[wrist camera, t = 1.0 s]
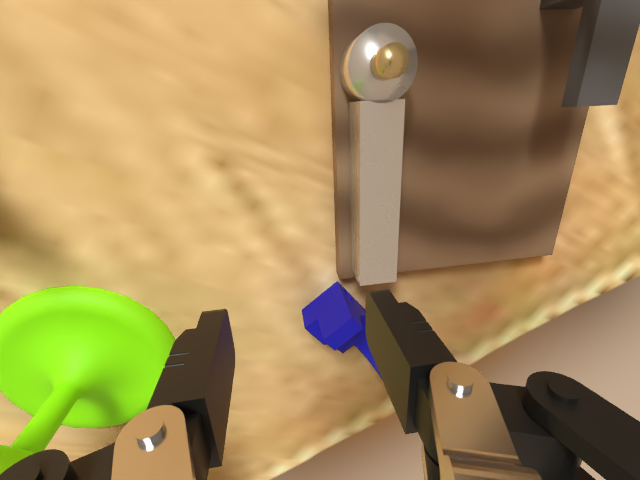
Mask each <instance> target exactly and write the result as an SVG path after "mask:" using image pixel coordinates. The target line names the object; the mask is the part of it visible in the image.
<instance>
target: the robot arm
mask: <svg viewBox="0 0 640 480" xmlns="http://www.w3.org/2000/svg"><path fill="white" fill-rule="evenodd" d="M366 338H367V343H368V346H369V349H370V352H371V354H372V356H373V359H374V361H375V363H376V366H377V368H378V370H379V373H380V375H381V378H382V380H383V382H384V385H385V387H386V389H387V392H388V394H389V396H390V399H391V401H392V403H393V406H394V408H395V411H396V413H397V415H398V417H399V420H400V422H401V425H402V427H403V429H404V432H405V434H409V433H415V432H418V433H419V435H420V438H421V440H422V442H423V445H422V461H423V470H424V479H425V480H595V479H594V478H593V477H592V476H591V475H589V474H588V473H587V472H586V471H585V470H584V469H582V468H581V467H580V465H581V462H582V460H583V461H584V462H585V463H587V464H588V465H589V466H590V467H591V468H593V469H594V470H595V471H596V472H597V473H599V474H600V475H601V476H602V477H603V478H604V479H606V480H640V422H639V421H638V420H636V419H634V418H633V417H631V416H630V415H628V414H627V413H625V412H624V411H622V410H621V409H619V408H618V407H616V406H615V405H613V404H612V403H610V402H608V401H607V400H605V399H604V398H602V397H600V396H599V395H598V394H596V393H595V392H593V391H591V390H590V389H588V388H587V387H585V386H584V385H582V384H581V383H579V382H577V381H576V380H574V379H572V378H570V377H567V376H565V375H562V374H558V373H554V372H547V371H543V372H536V373H533V374H531V375H530V376H529V377H528V379H527V383H526V386H525V387H521V386H512V385H504V384H496V383H491V382H488V380H487V379H486V377H485V376H484V375H483V374H481V373H480V372H479V371H478V370H476V369H474V368H472V367H471V366H468V365H466V364H463V363H459V362H457V361H456V359H455V358H454V357H453V355H452V354H451V353H450V351H449V350H448V349H447V347H446V346H445V345H444V343H443V342H442V341H441V340H440V338H439V337H438V336H437V334H436V333H435V332H434V331H433V330H432V328H431V326H430V325H429V324H428V322H426V320H425V318H424V317H423V316H422V314H421V313H420V312H419V310H418V309H416V308H414V307H413V306H411V305H410V304H408V303H407V302H403V303H398V302H397V301H396V299H395V298H394V296H393V295H392V293H391V292H390V290H380V291H372V292H367V293H366ZM234 369H235V349H234V343H233V338H232V332H231V327H230V322H229V316H228V312H227V310H226V309H221V310H213V311H205V312H202V313H201V316H200V319H199V322H198V325H197V328H195V329H187V330H185V331H184V332H183V333H182V334H181V335H180V336H179V337H178V338H177V339H176V340H175V341H174V343H173V346H172V348H171V351H170V353H169V357H168V358H167V361H166V363H165V368H163V370H162V373H161V375H160V378H159V380H158V382H157V385H156V387H155V390H154V392H153V395H152V397H151V399H150V402H149V404H148V407H147V409H146V410H145V411H143V412H142V413H140V414H138V415H137V416H135V417H134V418H133V419H132V420H130V421H129V422H128V423H127V424H126V425H125V426H124V428H123V429H122V430H121V432H120V433H119V435H118V437H117V439H116V442H115V443H113V444H111V445H109V446H107V447H105V448H102V449H100V450H98V451H95V452H93V453H91V454H88V455H86V456H84V457H81V458H79V459H76V460H74V461H72V462H70V460H69V459H68V457H67V455H66V454H65V453H64V452H62V451H60V450H44V451H41V452H37V453H35V454H32V455H30V456H28V457H26V458H24V459H22V460H20V461H18V462H17V463H15V464H13V465H12V466H11V467H9V468H8V469H6V470H5V471H4V472H3V473H1V474H0V480H207V476H208V471H209V468H214V467H219V466H222V459H223V452H224V444H225V437H226V429H227V422H228V414H229V407H230V399H231V392H232V384H233V377H234Z"/></svg>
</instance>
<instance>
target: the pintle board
mask: <svg viewBox="0 0 640 480" xmlns="http://www.w3.org/2000/svg"><path fill="white" fill-rule="evenodd" d="M328 10H329V42H330V74H331V106H332V139H333V171H334V203H335V235H336V267H337V274H338V276H339V278H340V279H346V278H355V275H354V273H353V271H352V270H351V207H350V123H349V102H356V101H354V100H353V99H352V98H350V97H349V96H348V95H347V93H346V92H345V90H344V89H343V87H342V84H341V81H340V77H339V65H340V60H341V57H342V54H343V52H344V50H345V49H346V47H347V46H348V45H349V44H350V43H351V42H352V41H353V40H354V39H355V38H356V37H358V36H359V35H360V34H361V33H362V32H364V31H365V30H366V29H367V28H369V27H371V26H373V25H375V24H379V23H392V24H395V25H398V26H400V27H401V28H403V29H404V30H405V31H406V32H407V33H408V34H409V35H410V37H411V38H412V40H413V42H414V44H415V47H416V50H417V57H418V65H417V71H416V75H415V78H414V80H413V82H412V84H411V86H410V87H409V89H408V90H407V91H406V92H405V93H404V94H403V95H402V96H401V97H399V98H398V99H405V114H404V135H403V156H402V176H401V197H400V218H399V238H398V259H397V273H398V272H407V271H415V270H424V269H433V268H441V267H450V266H459V265H467V264H476V263H485V262H494V261H502V260H511V259H520V258H528V257H537V256H546V255H552V253H553V249H554V245H555V241H556V237H557V233H558V229H559V225H560V221H561V217H562V213H563V209H564V205H565V201H566V197H567V193H568V189H569V185H570V181H571V177H572V172H573V168H574V164H575V160H576V156H577V152H578V148H579V144H580V140H581V136H582V132H583V128H584V124H585V120H586V116H587V112H588V108H589V106H600V105H617V103H618V99H619V96H620V92H621V89H622V85H623V81H624V78H625V74H626V71H627V67H628V63H629V60H630V56H631V53H632V49H633V46H634V42H635V38H636V35H637V31H638V28H639V24H640V0H328Z"/></svg>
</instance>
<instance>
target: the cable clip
mask: <svg viewBox="0 0 640 480" xmlns="http://www.w3.org/2000/svg"><path fill="white" fill-rule="evenodd" d="M302 314H303V320H304V326H305V329H306V330H307V331H309V332H310V333H311V334H312V335H313V336H314V337H315V338H317V339H318V340H319V341H320V342H321V343H322V344H323V345H325V344H328V345H329V346H330V347H331V348H332V349H334V350H336V349H338V350H339V351H340V352H342V353H344V352H345V351H346V350H348V349H349V348H350V347H351V346H353V345H355V346H356V347H357V348H358V349H359V350H360V351H361V352H362V353H363V354H364V355H365V357H366V358H367V359H368V360H369V362H370V363H371V364H372V365H373V367H374V368H375V370H376V371H377V372H378V374H379V375H380V373H379V370H378V368H377V366H376V363H375V361H374V359H373V356H372V354H371V352H370V349H369V346H368V343H367V338H366V310H365V309H364V308H363V307H362V306H361V305H360V304H359V303H358V302H357V301H356V300H355V299H354V298H353V297H352V296H351V295H350V294H349V293H348V292H347V291H346V290H345V288H344V287H343V286H342V285H341V284H340V283H339V282H338V281H337V282H336V283H334V284H333V285H332V286H331V287H330V288H328V289H327V290H326V291H325V292H323V293H322V294H321V295H320V296H318V297H317V298H316V299H315V300H314V301H312V302H311V303H310V304H309V305H307V306H306V307H305V308H304V309H302ZM380 377H381V375H380ZM381 379H382V378H381Z"/></svg>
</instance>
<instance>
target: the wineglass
mask: <svg viewBox="0 0 640 480" xmlns="http://www.w3.org/2000/svg"><path fill="white" fill-rule="evenodd" d="M174 341H175V338H174V337H173V335H172V333H171V332H170V330H169V328H168V327H167V325H166V324H165V323H164V322H163V321H162V320H161V319H159V318H158V317H157V316H156V315H155V314H154V313H153V312H152V311H151V310H150V309H148V308H146V307H145V306H143V305H141V304H139V303H138V302H136V301H134V300H132V299H131V298H129V297H126V296H123V295H120V294H117V293H114V292H111V291H108V290H105V289H100V288H91V287H82V286H66V287H55V288H47V289H44V290H41V291H38V292H35V293H32V294H29V295H26V296H23V297H22V298H20V299H19V300H17V301H16V302H14V303H13V304H11V305H10V306H8V307H7V308H5V309H4V310H3V312H2V313H1V314H0V391H1V392H2V393H3V394H4V395H5V396H6V397H7V398H8V399H9V400H10V401H11V402H12V403H13V404H15V405H16V406H18V407H19V408H21V409H23V410H24V411H26V412H27V413H29V414H30V415H33V416H34V417H33V418H32V419H31V421H30V422H29V423H28V424H27V426H26V427H25V428H24V430H23V431H22V432H21V433H20V435H19V436H18V437H17V439H16V440H15V441H14V443H13V444H12V445H11V446H10V447H8V446H3V445H0V474H1V473H3V472H4V471H5V470H6V469H8V468H9V467H11V466H12V465H13V464H15V463H17V462H18V461H20V460H22V459H24V458H26V457H28V456H30V455H32V454H35V453H37V452H41V451H44V449H45V448H46V446H47V445H48V443H49V442H50V440H51V439H52V437H53V436H54V434H55V433H56V431H57V430H58V428H59V427H60V425H64V426H69V427H74V428H102V427H109V426H116V425H121V424H123V423H126V422H129V421H130V420H132V419H133V418H134V417H135V416H137V415H138V414H140V413H142V412H143V411H145V410H146V409H147V407H148V404H149V402H150V399H151V397H152V395H153V392H154V390H155V387H156V385H157V382H158V380H159V378H160V375H161V373H162V370H163V368H165V363H166V361H167V358H168V357H169V353H170V351H171V348H172V346H173V343H174Z"/></svg>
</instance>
